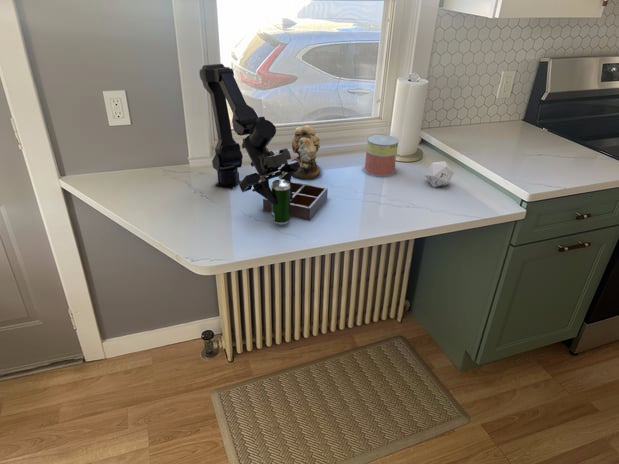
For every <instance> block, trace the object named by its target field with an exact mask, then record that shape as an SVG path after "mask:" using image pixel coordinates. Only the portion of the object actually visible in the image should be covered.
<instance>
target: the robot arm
mask: <svg viewBox="0 0 619 464" xmlns="http://www.w3.org/2000/svg"><path fill="white" fill-rule="evenodd" d="M199 78H200V80H201V82H202V86H203V88H204V89H205V90H206V92H207V93H208V94H209V95H210V101H211V108H212V113H213V118H214V123H215V129H216V135H217V143H216V146H215V148H214V151H215V152H214V153H215V154H214V157H213V158H212V160H211V163H212V164H211V165H212V168H213V169H214V170H215V171H216V172H217V183H215V186H216V187H219V188H226V189H231V190H233V189H234V188H235V187H237V186H238V185H239V189H240V190H241V192H242V193H245V192H248V191H252V193H255V192H256V193H257V194H258V195H260V196H261V197H263V198H266V199H267V200H268V201H270V202H271V203H272V204H274V205H275V206H276V205H277V201H276V199H275V197H274V195H273V193H272V190H271V187H270V180H272V179H274V178H278V180H287V181H289V183H290V200H292V199H293V196H292V189H291V182H292V177H293V176H292V175H293V174H295V173H296V172H297V171H298V170H299V169H300V168H301V166H300V165H299V163H298V162H297V161H292V160H291V159H292V155H291V152H290V151H289V148H287V147H285V148H282V149H279V151H278V153H277V154H275V153H274V151H273V150H269V148H268V145H269V144H270V143H271V141H272V140H273V138H274V137H275V136H276V134H277V128H276V125H275V124H274V123H273V122H272V121H270V120H269V119H266V117H265V116H263V115H262V116H259V115H258V113H257V111H256V110H255V109H254V108H253V107H252V106H250V105H249V104H248V103H247V101H246V99H245V97H244V95H243V93H242V91H241V88H240V87H239V84H238V82H237V80H236V78H235V73H234V70H233V68H232V67H230V66H225V65H224V64H223V63H214V64H213V63H211V64H203V65H202V67H201V68H200V69H199ZM228 107H229V108H230V111H231V113H232V119H231V120H230V115H229V108H228ZM232 129H233V131H234V132H235V134H236V135H237V136H240V137H242V136H246V137H244V138H242V144H241V145H240V144H239V142H237V141H236V140H235V139H234V137H233V131H232ZM241 148H242V149H245V151H246V153H247V154H248V156H249V158H250V160H251V162H250V166H251V167H252V168H253V167H254V168H255V170H256V172H254V173H250V174H248V175H245V176H244V177H243V178H242V180H240V172H239V169H238V168H242V165H243V158H244V157H243V153H242V151H241ZM288 160H291V161H288ZM252 188H253V189H252Z"/></svg>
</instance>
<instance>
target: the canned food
mask: <svg viewBox="0 0 619 464" xmlns="http://www.w3.org/2000/svg"><path fill="white" fill-rule="evenodd" d="M399 141H400V140H399V139H398V138H397V137H395V136H393V135H388V134H372V135H369V136H368V137H367V138H366V149H365V150H366V151H365V161H364V162H365V163H364V171H365V173H367V174H368V175H371V176H374V177H390V176H393V175H394V174H395V173H396V163H397V154H398V147H399Z"/></svg>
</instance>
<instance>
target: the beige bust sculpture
mask: <svg viewBox="0 0 619 464" xmlns="http://www.w3.org/2000/svg"><path fill="white" fill-rule="evenodd" d="M320 147H321V146H320V136H319V135H318V134H317V133H316V130H315V128H314V127H313V126H311V125H307V124H306V125H302V126H298V127H296V128H295V129H294V137H293V139H292V140H291V149H292V152H293V153H294V154H297V157H296V158H294V159H292V160H291V161H297V162H298V163H299V165H300V166H301V168H300V169H299V170H298V171H297V172H296V173H295V174H293V175H292V176H291V177H293V178H296V179H299V180H300V179H301V180H305V181H306V180H307V181H309V180H310V181H311V180H315V179H318V178H319V177H320V176H321V168H320V166H319V165H318V164H317V161H316V159H317V153H318V152H319V149H320Z"/></svg>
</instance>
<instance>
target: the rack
mask: <svg viewBox="0 0 619 464" xmlns="http://www.w3.org/2000/svg"><path fill="white" fill-rule="evenodd" d="M291 189H292V196H293V199H292V200H290V218H297V219H301V220H305V221H311V220H312V219H313V218H314V216H315V215H316V214H317V213H318V212H319V210H320V209H321V208H322V207H323V206H324V204H325V203H326V201H327V200H328V193H329V192H328V191H329V190H328V189H329V188H328V187H324V186H318V185H313V184H308V183H303V182H297V181H291ZM262 211H263V212H267V213H272V203H271V202H270V201H268V200H267V199H266V198H265V197H263V198H262Z"/></svg>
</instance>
